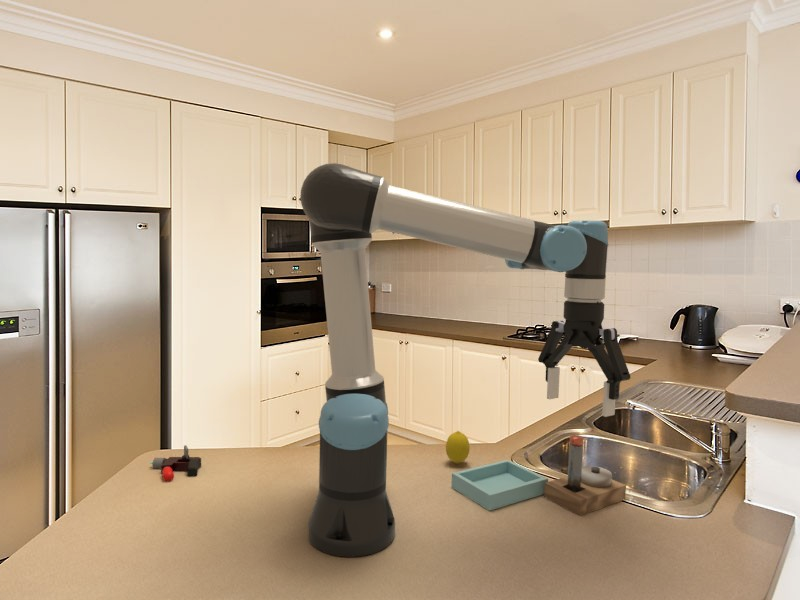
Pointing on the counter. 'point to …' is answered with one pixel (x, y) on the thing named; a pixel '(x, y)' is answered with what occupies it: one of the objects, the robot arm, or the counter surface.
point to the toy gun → (177, 465)
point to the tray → (498, 484)
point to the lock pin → (575, 463)
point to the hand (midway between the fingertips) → (579, 406)
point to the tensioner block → (586, 491)
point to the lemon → (457, 447)
